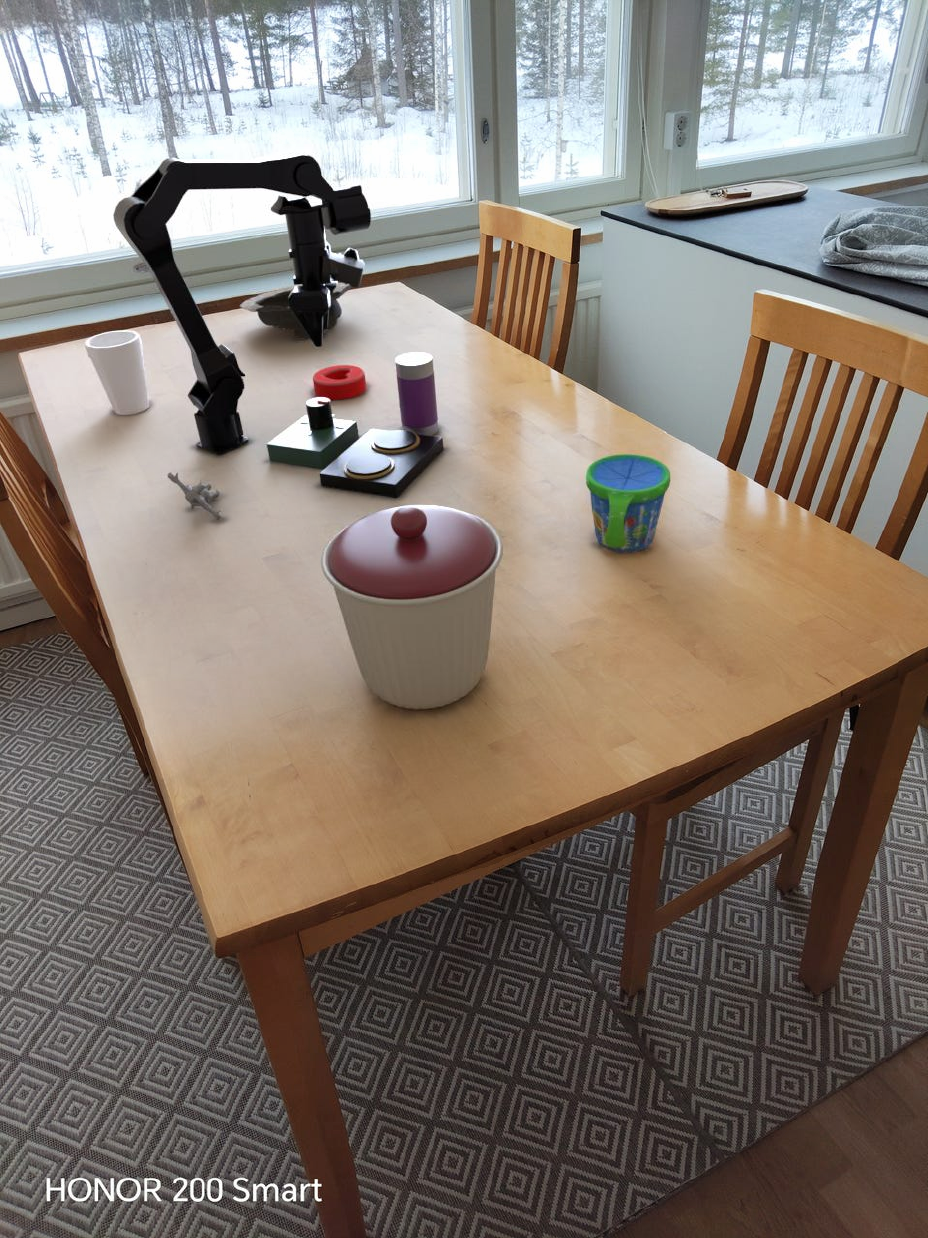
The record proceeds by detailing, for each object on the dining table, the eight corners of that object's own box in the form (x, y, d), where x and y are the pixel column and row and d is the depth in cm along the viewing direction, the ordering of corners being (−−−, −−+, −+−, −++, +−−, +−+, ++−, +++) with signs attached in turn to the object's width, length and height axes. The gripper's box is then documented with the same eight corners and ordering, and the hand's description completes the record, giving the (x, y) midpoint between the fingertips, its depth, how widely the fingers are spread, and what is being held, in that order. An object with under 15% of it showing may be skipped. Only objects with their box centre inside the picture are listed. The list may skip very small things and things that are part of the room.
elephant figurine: (249, 498, 137) (227, 507, 128) (226, 527, 139) (203, 538, 130) (197, 453, 136) (172, 459, 128) (175, 483, 138) (148, 491, 129)
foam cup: (165, 397, 172) (147, 329, 165) (146, 417, 165) (127, 347, 157) (117, 398, 173) (97, 330, 166) (97, 418, 166) (75, 348, 158)
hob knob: (304, 428, 149) (300, 403, 147) (317, 418, 152) (313, 394, 150) (326, 430, 148) (322, 405, 145) (338, 421, 151) (334, 396, 148)
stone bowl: (339, 344, 190) (329, 299, 185) (230, 351, 196) (218, 309, 191) (371, 305, 209) (363, 264, 204) (272, 313, 215) (261, 273, 210)
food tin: (422, 441, 150) (415, 368, 142) (395, 433, 153) (387, 361, 146) (445, 428, 153) (440, 356, 146) (418, 420, 157) (412, 349, 149)
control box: (269, 461, 147) (266, 443, 145) (311, 428, 157) (308, 411, 155) (323, 468, 144) (320, 450, 142) (362, 435, 153) (359, 417, 151)
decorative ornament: (309, 386, 173) (307, 370, 171) (358, 376, 175) (356, 360, 173) (322, 403, 165) (319, 386, 164) (372, 393, 168) (370, 376, 166)
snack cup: (647, 578, 113) (653, 506, 107) (567, 563, 117) (568, 493, 111) (677, 519, 125) (684, 451, 119) (603, 507, 128) (606, 440, 122)
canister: (501, 624, 107) (495, 461, 95) (513, 728, 92) (508, 551, 80) (349, 634, 107) (323, 473, 95) (337, 739, 93) (304, 565, 80)
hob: (321, 486, 139) (318, 469, 137) (372, 440, 151) (370, 424, 149) (397, 498, 134) (395, 480, 132) (443, 449, 147) (442, 433, 145)
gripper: (353, 251, 136) (365, 353, 146) (361, 223, 152) (372, 317, 161) (280, 256, 137) (296, 357, 146) (295, 227, 152) (309, 321, 161)
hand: (321, 337), depth 153 cm, fingers open, 9 cm apart
